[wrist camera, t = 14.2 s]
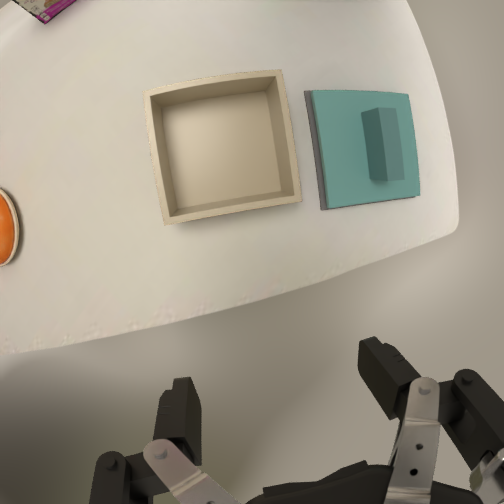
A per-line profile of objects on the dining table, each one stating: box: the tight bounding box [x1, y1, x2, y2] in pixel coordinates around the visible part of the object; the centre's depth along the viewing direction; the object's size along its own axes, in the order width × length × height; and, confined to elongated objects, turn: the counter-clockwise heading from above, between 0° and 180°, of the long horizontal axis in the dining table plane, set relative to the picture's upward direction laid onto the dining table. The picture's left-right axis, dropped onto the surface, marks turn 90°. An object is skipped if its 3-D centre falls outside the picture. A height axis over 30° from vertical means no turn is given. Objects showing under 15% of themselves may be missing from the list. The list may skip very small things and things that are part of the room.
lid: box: [310, 90, 420, 208], centre depth 36 cm, size 17×17×7 cm
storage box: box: [142, 70, 302, 226], centre depth 33 cm, size 16×16×8 cm
